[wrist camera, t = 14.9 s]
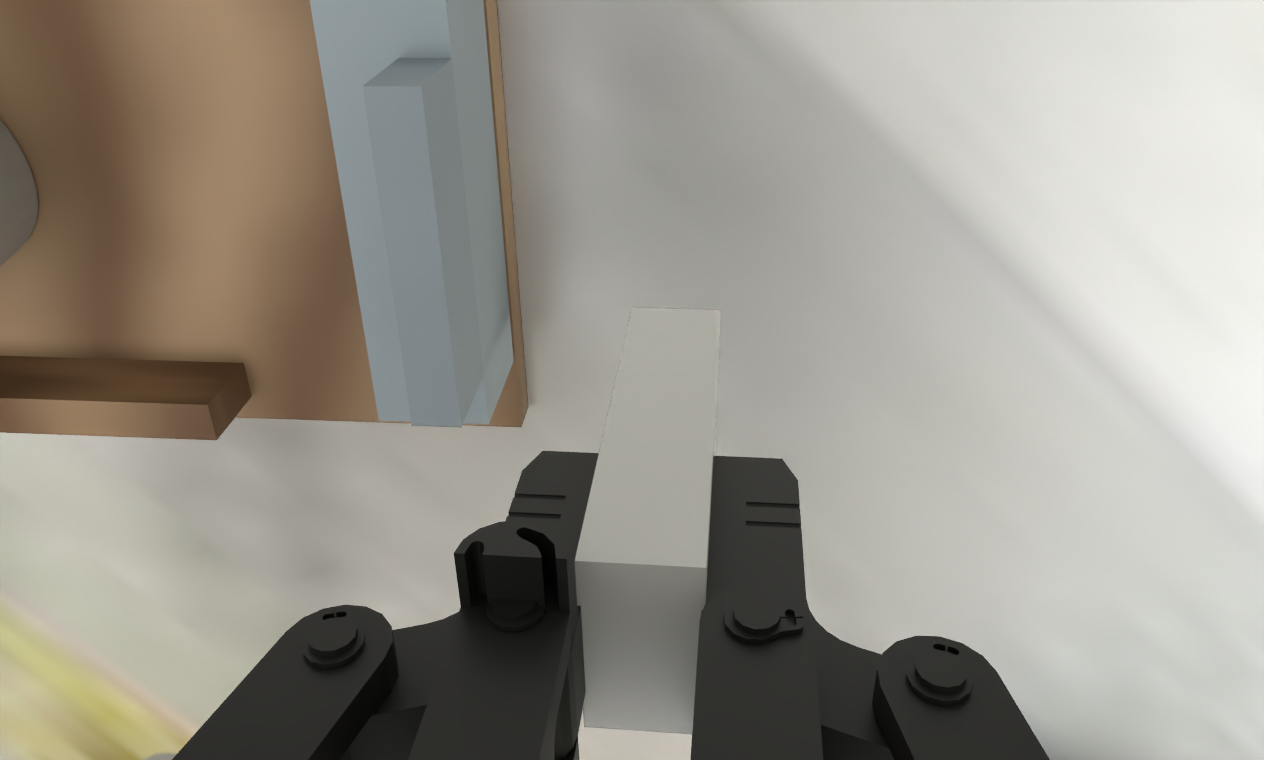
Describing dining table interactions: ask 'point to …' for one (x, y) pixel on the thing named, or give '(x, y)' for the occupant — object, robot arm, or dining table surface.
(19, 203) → the coffee cup
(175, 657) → the dining table surface
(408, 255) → the block
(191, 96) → the housing base
